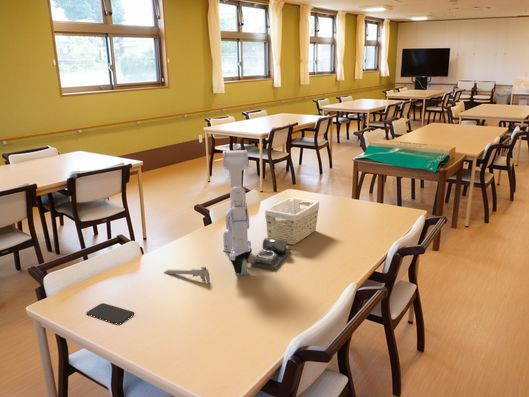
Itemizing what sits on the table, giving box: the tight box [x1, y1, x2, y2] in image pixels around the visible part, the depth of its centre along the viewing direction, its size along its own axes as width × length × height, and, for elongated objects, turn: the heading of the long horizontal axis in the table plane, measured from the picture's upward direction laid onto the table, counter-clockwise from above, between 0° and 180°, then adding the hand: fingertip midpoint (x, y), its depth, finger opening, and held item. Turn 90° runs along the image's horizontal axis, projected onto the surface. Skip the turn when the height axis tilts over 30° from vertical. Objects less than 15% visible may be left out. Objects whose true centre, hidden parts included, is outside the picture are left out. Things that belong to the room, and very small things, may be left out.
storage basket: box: [264, 196, 320, 246], centre depth 205 cm, size 24×16×15 cm
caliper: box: [164, 266, 211, 283], centre depth 168 cm, size 20×1×6 cm, turn 63°
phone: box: [86, 302, 135, 325], centre depth 145 cm, size 7×1×15 cm
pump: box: [234, 258, 252, 277], centre depth 169 cm, size 6×4×6 cm
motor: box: [248, 237, 292, 271], centre depth 181 cm, size 11×18×6 cm, turn 157°
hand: (241, 270), depth 170 cm, fingers closed on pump, 4 cm apart
